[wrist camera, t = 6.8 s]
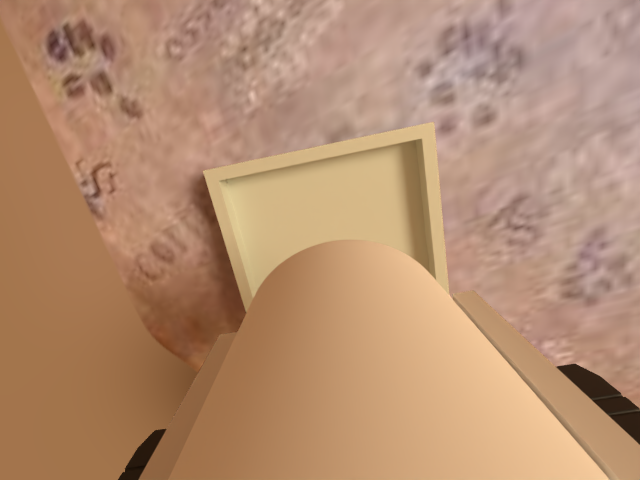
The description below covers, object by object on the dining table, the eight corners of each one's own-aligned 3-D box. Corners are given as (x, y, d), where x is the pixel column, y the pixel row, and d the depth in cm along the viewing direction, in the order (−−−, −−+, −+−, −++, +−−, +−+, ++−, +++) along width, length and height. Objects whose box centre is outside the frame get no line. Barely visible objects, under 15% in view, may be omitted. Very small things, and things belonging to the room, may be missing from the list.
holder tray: (213, 168, 21) (202, 170, 19) (423, 124, 20) (434, 121, 18) (265, 345, 25) (260, 361, 23) (442, 314, 24) (452, 329, 22)
